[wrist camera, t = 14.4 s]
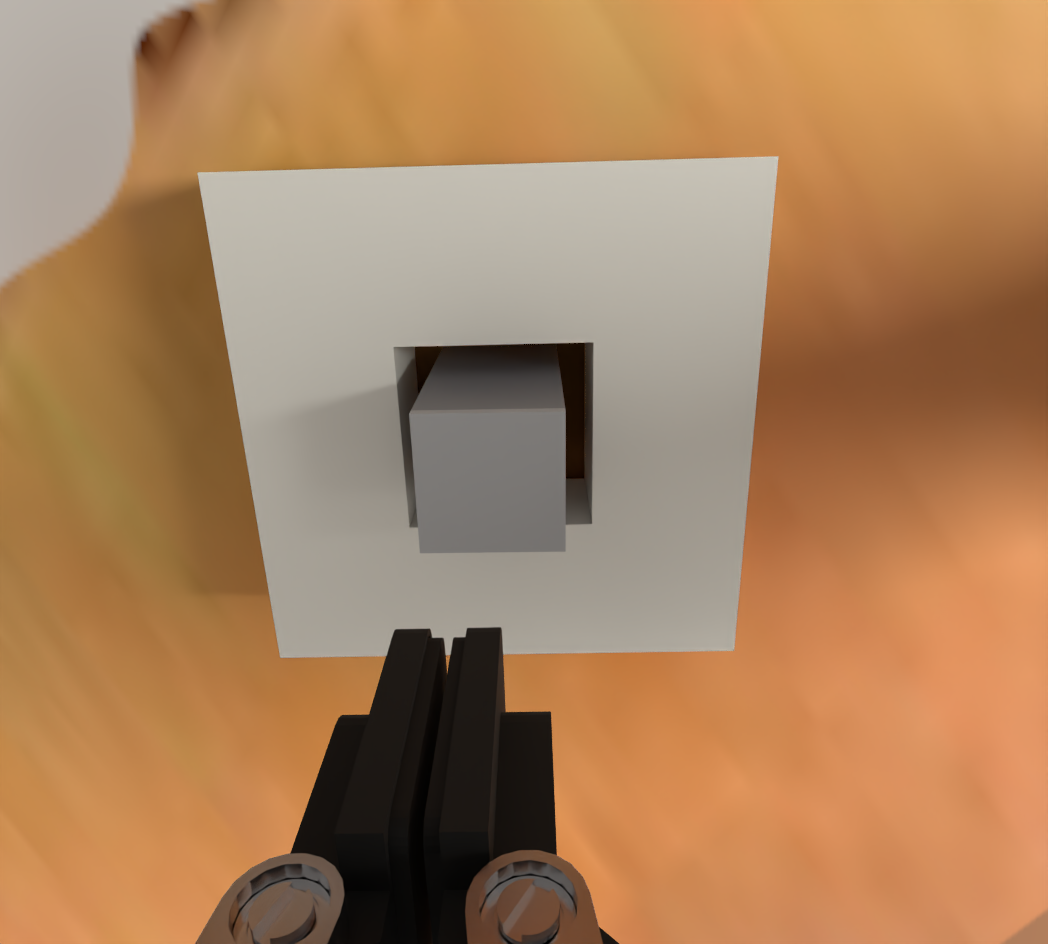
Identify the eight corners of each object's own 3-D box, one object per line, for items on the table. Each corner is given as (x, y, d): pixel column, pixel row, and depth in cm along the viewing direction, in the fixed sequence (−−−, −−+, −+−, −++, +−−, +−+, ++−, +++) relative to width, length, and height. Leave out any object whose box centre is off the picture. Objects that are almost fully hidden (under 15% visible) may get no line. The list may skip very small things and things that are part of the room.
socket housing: (741, 158, 25) (778, 156, 21) (709, 592, 30) (734, 650, 27) (247, 172, 25) (197, 172, 21) (310, 598, 31) (280, 657, 27)
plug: (556, 344, 27) (565, 411, 19) (556, 451, 28) (565, 551, 21) (443, 346, 27) (408, 413, 19) (449, 453, 28) (419, 553, 21)
